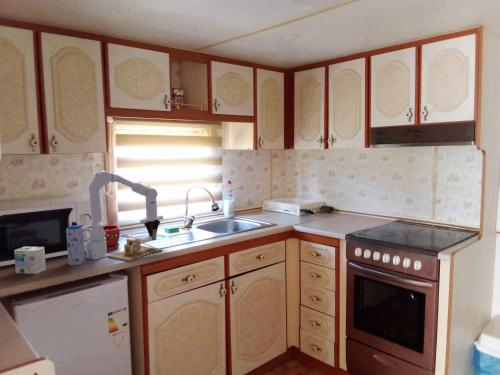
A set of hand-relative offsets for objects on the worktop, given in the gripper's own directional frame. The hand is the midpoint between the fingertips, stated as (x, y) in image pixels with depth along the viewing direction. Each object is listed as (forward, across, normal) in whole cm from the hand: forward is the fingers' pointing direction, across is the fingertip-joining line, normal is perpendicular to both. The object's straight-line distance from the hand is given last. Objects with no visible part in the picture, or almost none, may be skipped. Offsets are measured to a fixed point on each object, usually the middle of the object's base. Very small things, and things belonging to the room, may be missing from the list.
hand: (152, 234), depth 213 cm
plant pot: (+8, -12, +22) cm, 27 cm away
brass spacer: (+7, -16, 0) cm, 18 cm away
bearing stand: (+8, -12, 0) cm, 15 cm away
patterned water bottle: (+8, -36, +14) cm, 40 cm away
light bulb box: (+8, -55, +20) cm, 59 cm away
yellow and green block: (+3, -6, 0) cm, 7 cm away
